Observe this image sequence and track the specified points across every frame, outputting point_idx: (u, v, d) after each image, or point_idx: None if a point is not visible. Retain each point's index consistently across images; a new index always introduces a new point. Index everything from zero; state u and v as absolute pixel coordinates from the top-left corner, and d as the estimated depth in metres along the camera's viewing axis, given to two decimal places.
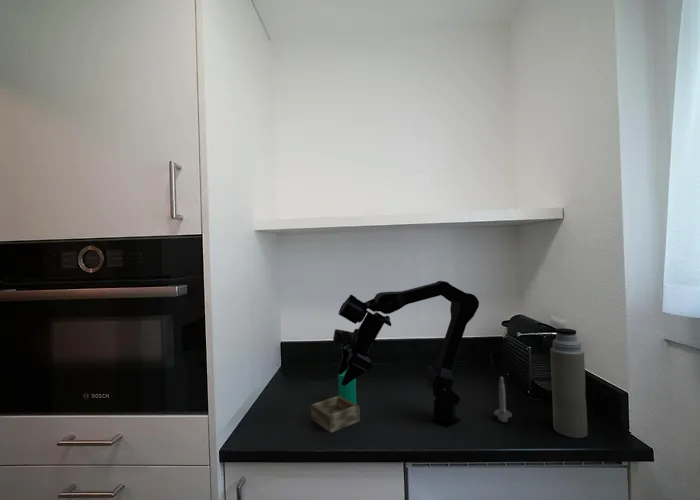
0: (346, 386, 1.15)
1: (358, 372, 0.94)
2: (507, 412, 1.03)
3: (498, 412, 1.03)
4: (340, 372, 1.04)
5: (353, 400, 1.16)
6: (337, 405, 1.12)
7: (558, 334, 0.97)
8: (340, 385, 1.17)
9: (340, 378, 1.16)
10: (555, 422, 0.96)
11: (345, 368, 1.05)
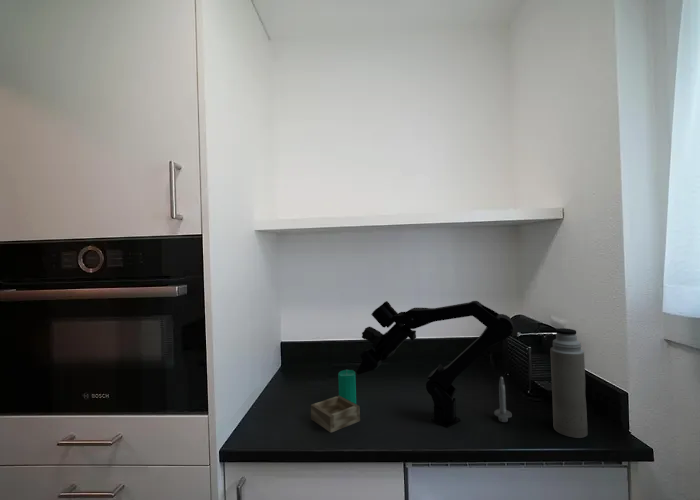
0: (346, 386, 1.15)
1: (369, 368, 1.08)
2: (507, 412, 1.03)
3: (498, 412, 1.03)
4: None
5: (353, 400, 1.16)
6: (337, 405, 1.12)
7: (558, 334, 0.97)
8: (340, 385, 1.17)
9: (340, 378, 1.16)
10: (555, 422, 0.96)
11: None
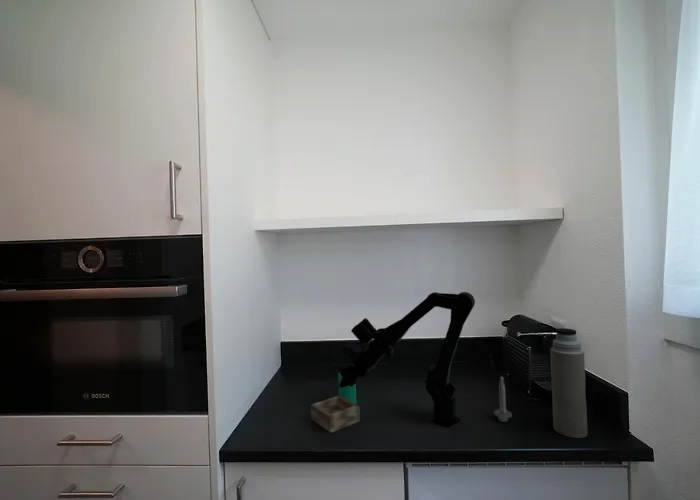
0: (346, 386, 1.15)
1: None
2: (507, 412, 1.03)
3: (498, 412, 1.03)
4: None
5: (353, 400, 1.16)
6: (337, 405, 1.12)
7: (558, 334, 0.97)
8: None
9: (340, 378, 1.16)
10: (555, 422, 0.96)
11: None
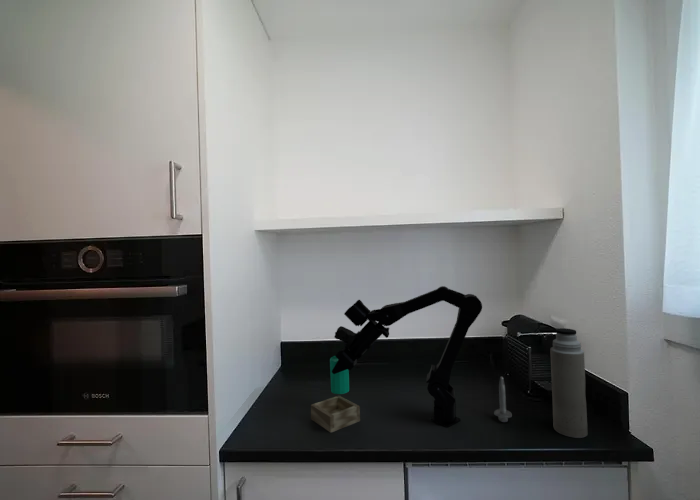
0: None
1: (345, 366, 1.08)
2: (507, 412, 1.03)
3: (498, 412, 1.03)
4: None
5: (347, 386, 1.11)
6: (337, 405, 1.12)
7: (558, 334, 0.97)
8: None
9: (333, 364, 1.11)
10: (555, 422, 0.96)
11: None
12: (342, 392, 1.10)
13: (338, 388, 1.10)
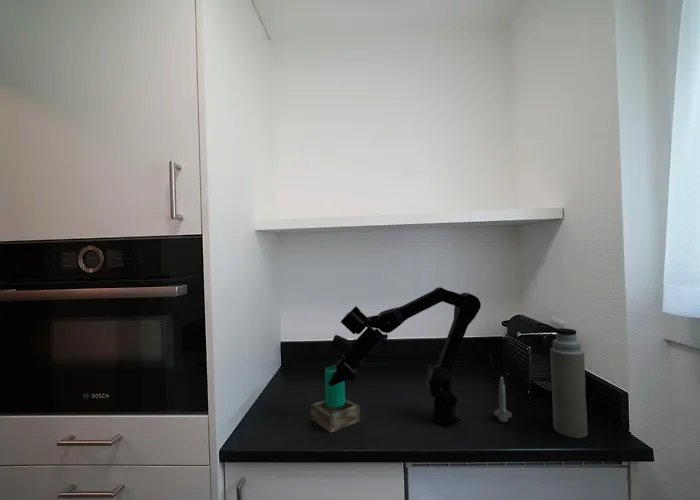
0: (337, 383, 1.04)
1: (344, 377, 1.02)
2: (507, 412, 1.03)
3: (498, 412, 1.03)
4: None
5: (343, 397, 1.06)
6: None
7: (558, 334, 0.97)
8: None
9: (329, 375, 1.04)
10: (555, 422, 0.96)
11: None
12: (339, 404, 1.04)
13: (335, 401, 1.04)
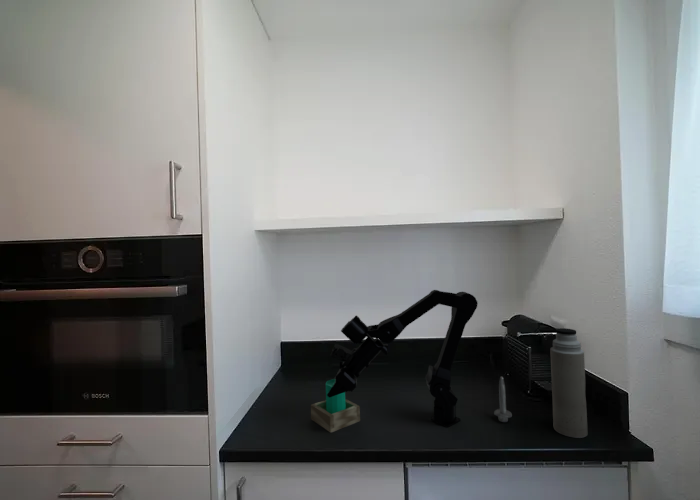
0: (338, 397, 1.04)
1: (343, 389, 1.01)
2: (507, 412, 1.03)
3: (498, 412, 1.03)
4: None
5: None
6: None
7: (558, 334, 0.97)
8: (330, 397, 1.04)
9: None
10: (555, 422, 0.96)
11: None
12: None
13: None
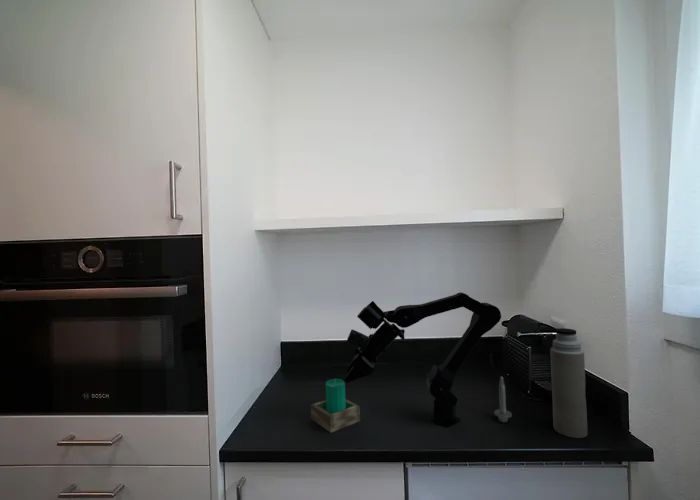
0: (338, 397, 1.04)
1: (361, 374, 1.00)
2: (507, 412, 1.03)
3: (498, 412, 1.03)
4: (349, 370, 1.11)
5: None
6: None
7: (558, 334, 0.97)
8: (330, 397, 1.04)
9: (330, 389, 1.04)
10: (555, 422, 0.96)
11: None
12: None
13: None
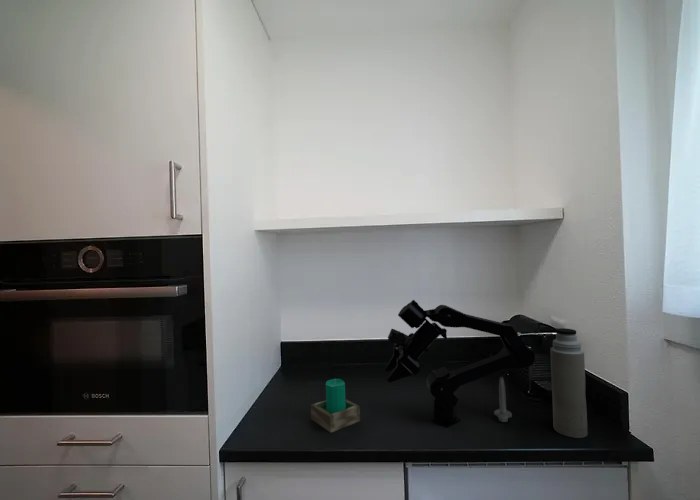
0: (338, 397, 1.04)
1: (405, 373, 0.99)
2: (507, 412, 1.03)
3: (498, 412, 1.03)
4: (388, 369, 1.10)
5: None
6: None
7: (558, 334, 0.97)
8: (330, 397, 1.04)
9: (330, 389, 1.04)
10: (555, 422, 0.96)
11: (393, 367, 1.10)
12: None
13: None
